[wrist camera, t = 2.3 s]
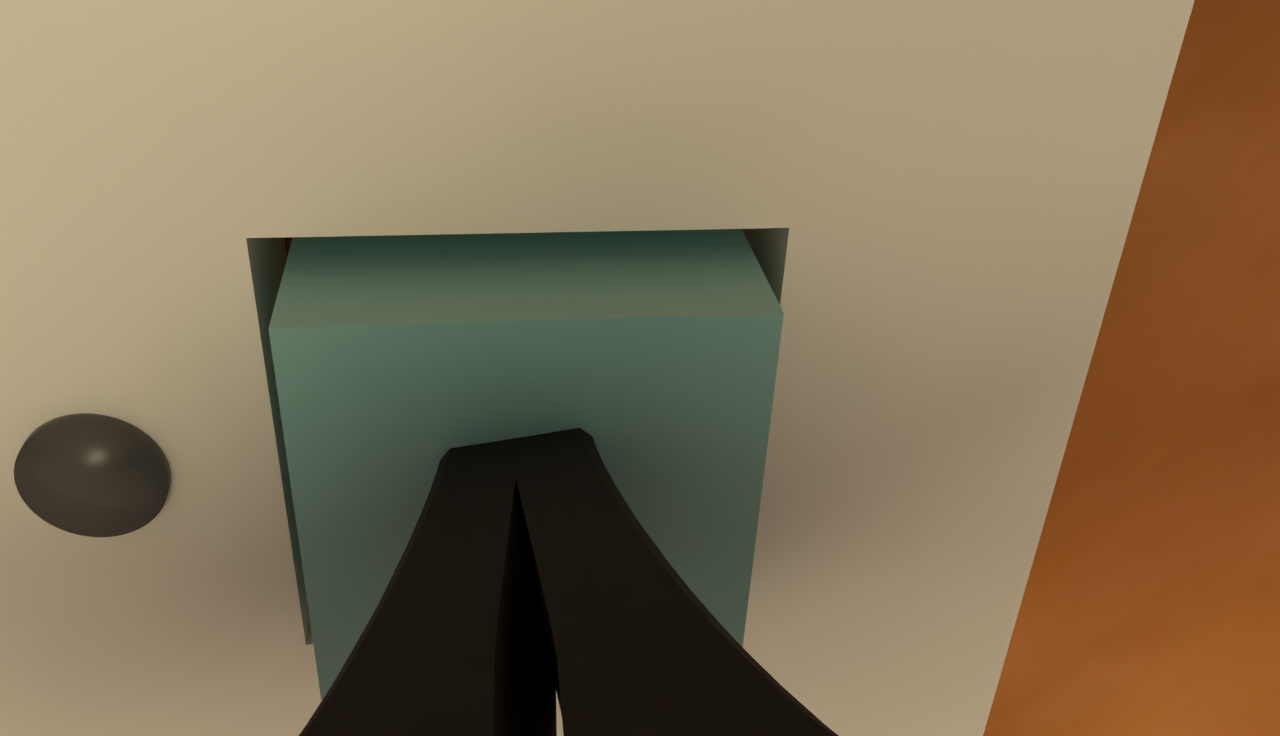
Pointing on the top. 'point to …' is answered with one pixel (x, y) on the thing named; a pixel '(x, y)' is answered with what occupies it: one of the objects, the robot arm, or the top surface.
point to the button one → (522, 392)
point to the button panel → (537, 203)
